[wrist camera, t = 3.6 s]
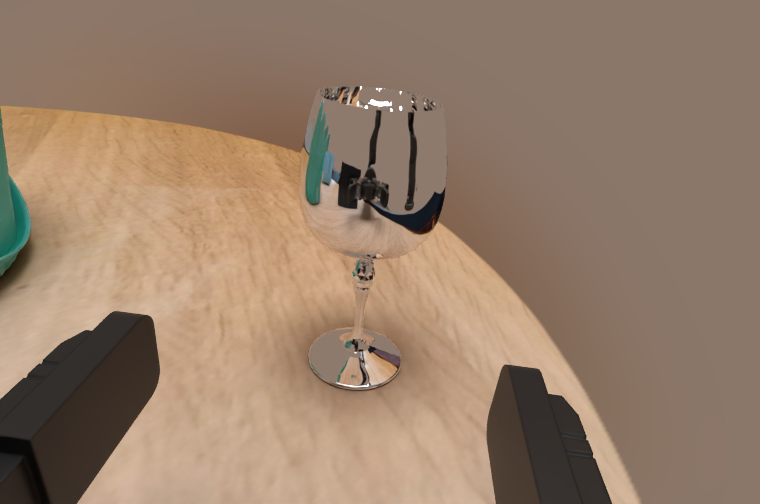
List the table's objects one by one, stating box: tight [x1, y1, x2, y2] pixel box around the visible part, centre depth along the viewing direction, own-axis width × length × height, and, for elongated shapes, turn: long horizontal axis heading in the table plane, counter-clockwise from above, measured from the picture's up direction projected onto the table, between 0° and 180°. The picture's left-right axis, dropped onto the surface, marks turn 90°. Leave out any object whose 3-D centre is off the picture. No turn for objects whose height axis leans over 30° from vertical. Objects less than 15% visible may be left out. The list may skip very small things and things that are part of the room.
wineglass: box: [298, 86, 447, 390], centre depth 20 cm, size 6×6×12 cm
